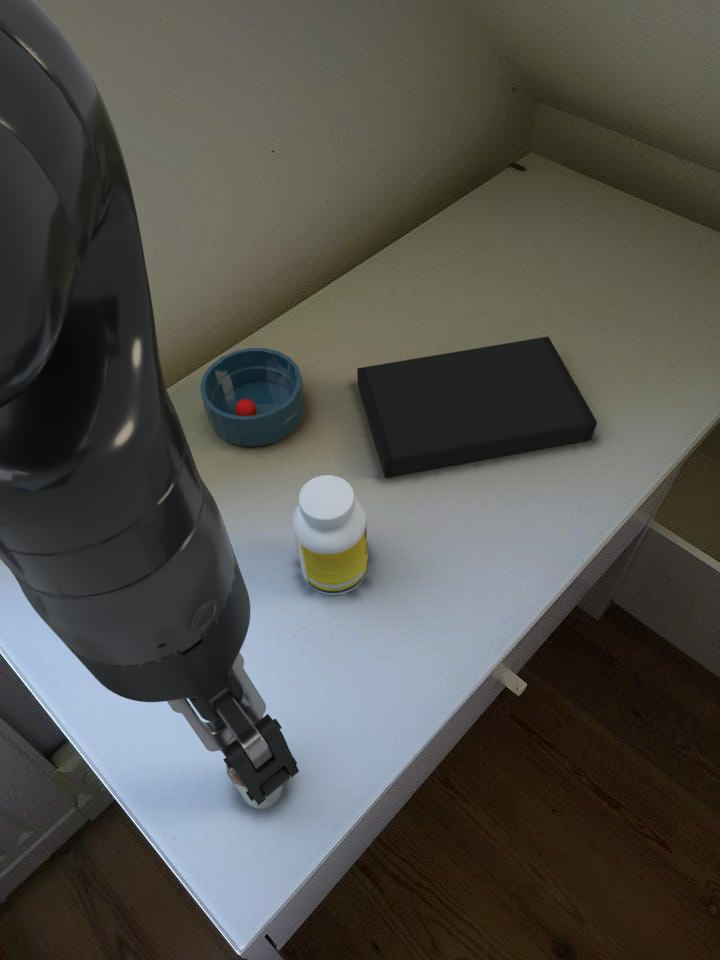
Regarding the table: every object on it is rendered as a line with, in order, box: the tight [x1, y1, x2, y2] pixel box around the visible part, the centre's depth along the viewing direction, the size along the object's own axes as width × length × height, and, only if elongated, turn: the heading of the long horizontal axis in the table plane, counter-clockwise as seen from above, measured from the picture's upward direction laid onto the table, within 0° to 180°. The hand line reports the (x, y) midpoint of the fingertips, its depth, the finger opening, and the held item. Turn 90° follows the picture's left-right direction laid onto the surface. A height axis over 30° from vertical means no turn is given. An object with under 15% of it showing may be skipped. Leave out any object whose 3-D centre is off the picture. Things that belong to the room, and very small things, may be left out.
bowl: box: [199, 347, 306, 447], centre depth 77 cm, size 11×11×5 cm
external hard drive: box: [356, 336, 598, 478], centre depth 77 cm, size 14×23×3 cm, turn 102°
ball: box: [235, 399, 257, 416], centre depth 77 cm, size 2×2×2 cm
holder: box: [225, 764, 284, 810], centre depth 52 cm, size 3×3×7 cm
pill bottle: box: [292, 474, 369, 596], centre depth 62 cm, size 6×6×12 cm
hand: (220, 710), depth 40 cm, fingers open, 8 cm apart
